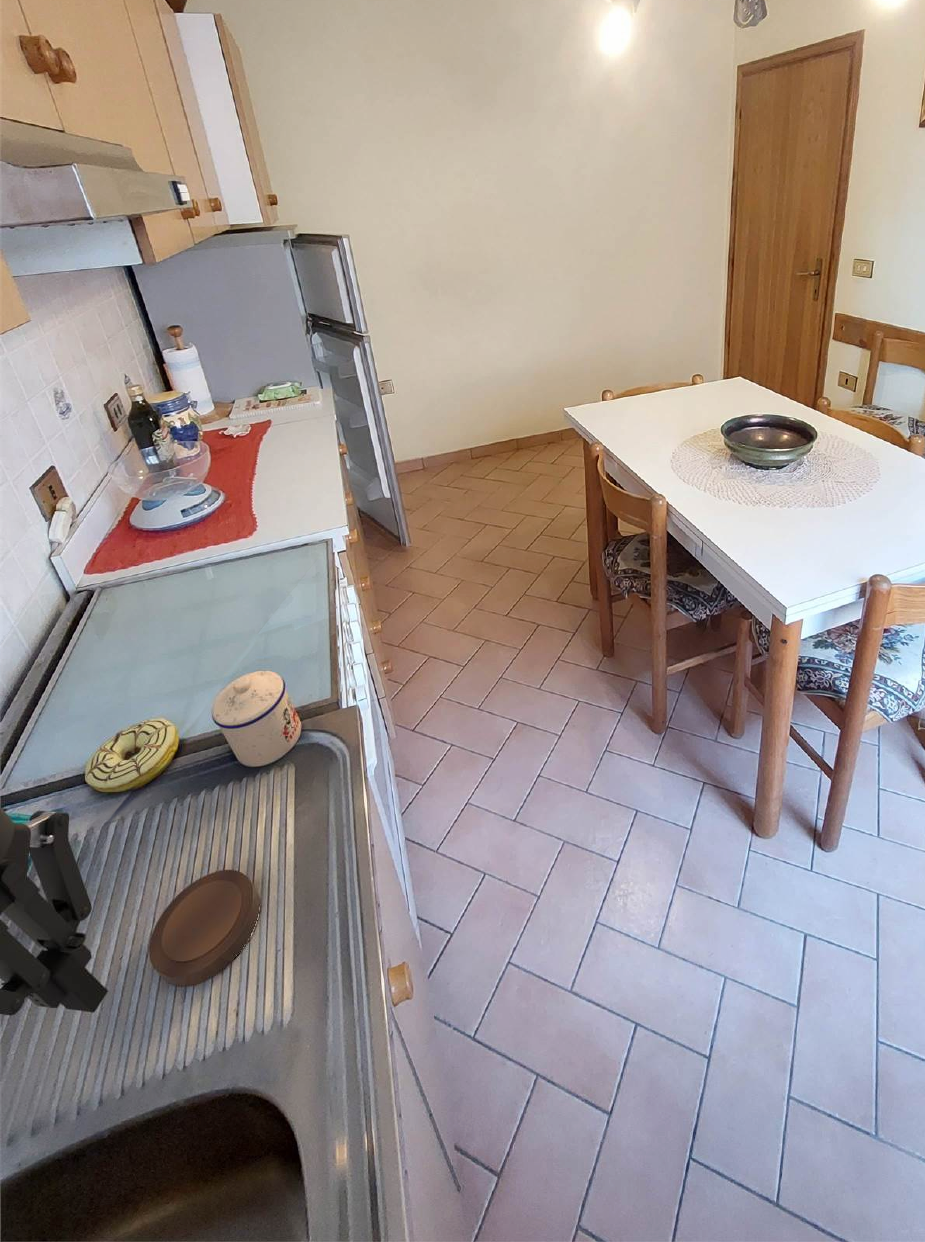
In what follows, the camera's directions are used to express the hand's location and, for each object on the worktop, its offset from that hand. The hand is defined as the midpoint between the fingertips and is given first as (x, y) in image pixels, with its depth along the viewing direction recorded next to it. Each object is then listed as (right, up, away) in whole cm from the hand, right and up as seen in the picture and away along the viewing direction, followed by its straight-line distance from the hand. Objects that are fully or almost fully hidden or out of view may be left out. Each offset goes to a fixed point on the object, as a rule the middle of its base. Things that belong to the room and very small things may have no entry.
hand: (87, 999), depth 52 cm
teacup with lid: (-3, +7, +36) cm, 37 cm away
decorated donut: (-19, +4, +33) cm, 39 cm away
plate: (+2, -5, +14) cm, 15 cm away
